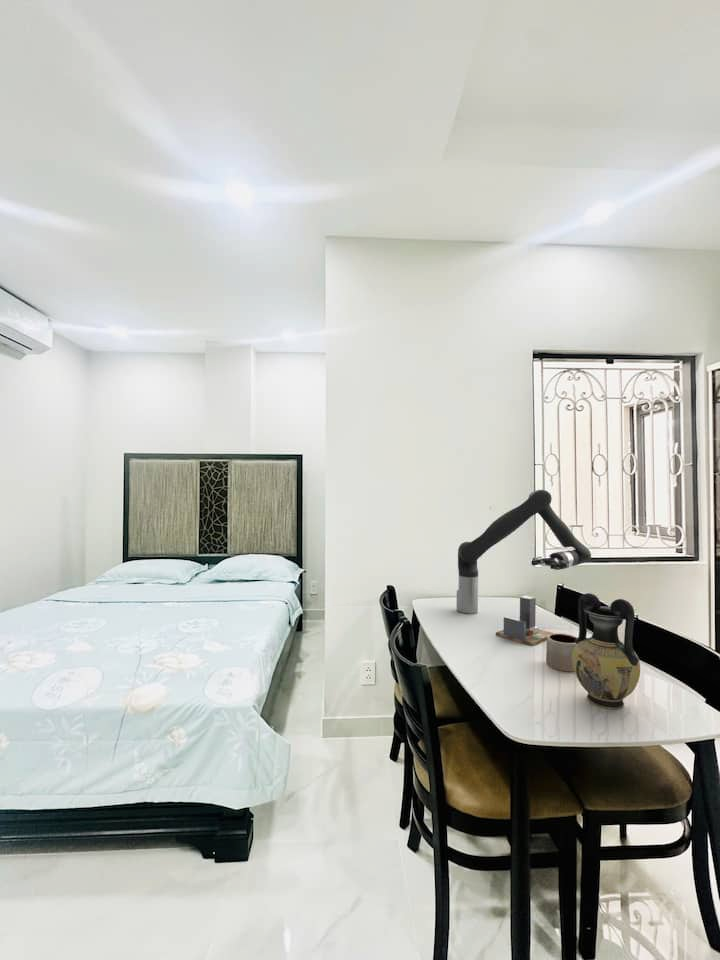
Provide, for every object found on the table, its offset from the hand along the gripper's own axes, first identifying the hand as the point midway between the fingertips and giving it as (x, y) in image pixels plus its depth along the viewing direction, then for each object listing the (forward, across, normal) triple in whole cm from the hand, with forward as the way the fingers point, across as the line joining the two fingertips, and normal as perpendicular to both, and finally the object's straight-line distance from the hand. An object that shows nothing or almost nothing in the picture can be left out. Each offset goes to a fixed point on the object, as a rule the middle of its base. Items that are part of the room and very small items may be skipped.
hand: (541, 564), depth 197 cm
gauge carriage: (+15, +2, +26) cm, 30 cm away
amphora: (+48, +47, +25) cm, 72 cm away
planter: (+32, +27, +26) cm, 49 cm away
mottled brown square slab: (+14, +1, +27) cm, 30 cm away
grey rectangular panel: (+22, +1, +26) cm, 34 cm away
